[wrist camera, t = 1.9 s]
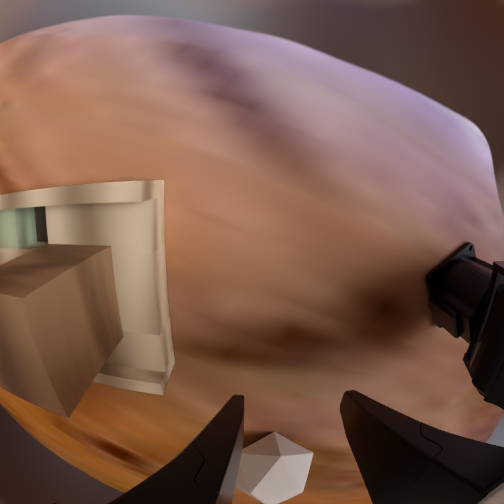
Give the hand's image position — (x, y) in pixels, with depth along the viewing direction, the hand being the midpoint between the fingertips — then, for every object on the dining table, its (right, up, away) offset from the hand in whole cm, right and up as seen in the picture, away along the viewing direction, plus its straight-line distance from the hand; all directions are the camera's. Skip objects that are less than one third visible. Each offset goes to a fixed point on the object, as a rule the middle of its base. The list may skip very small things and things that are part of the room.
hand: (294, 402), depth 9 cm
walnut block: (-14, +3, +8) cm, 17 cm away
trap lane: (-19, +4, +11) cm, 22 cm away
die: (+1, -17, +17) cm, 24 cm away
